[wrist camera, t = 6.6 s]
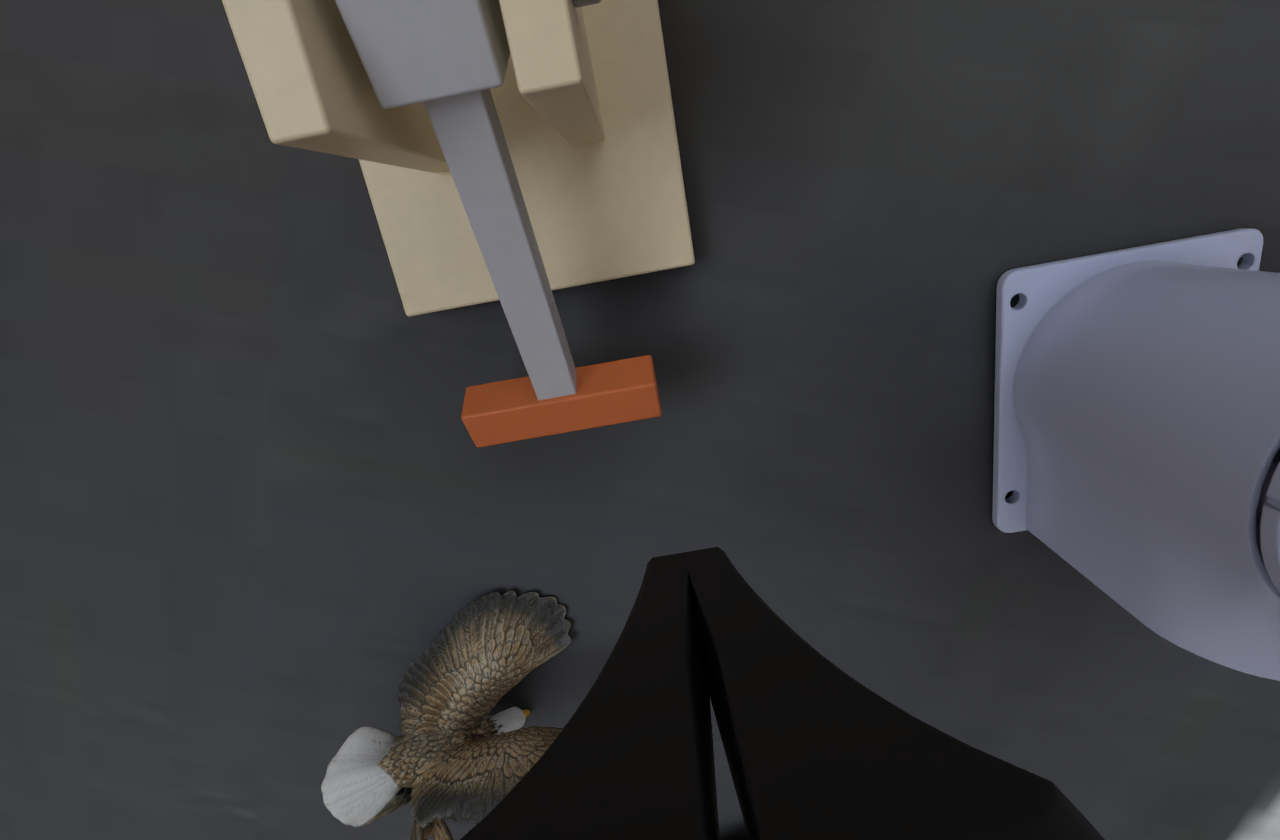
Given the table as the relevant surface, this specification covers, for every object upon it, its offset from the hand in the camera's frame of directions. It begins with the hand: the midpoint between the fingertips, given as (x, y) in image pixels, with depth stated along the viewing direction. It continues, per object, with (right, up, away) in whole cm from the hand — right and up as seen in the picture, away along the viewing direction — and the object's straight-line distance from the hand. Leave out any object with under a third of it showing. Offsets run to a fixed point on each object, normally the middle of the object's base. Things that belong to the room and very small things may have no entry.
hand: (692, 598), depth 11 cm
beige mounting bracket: (-5, +13, +6) cm, 15 cm away
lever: (-4, +8, +3) cm, 10 cm away
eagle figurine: (-7, -7, +14) cm, 17 cm away
